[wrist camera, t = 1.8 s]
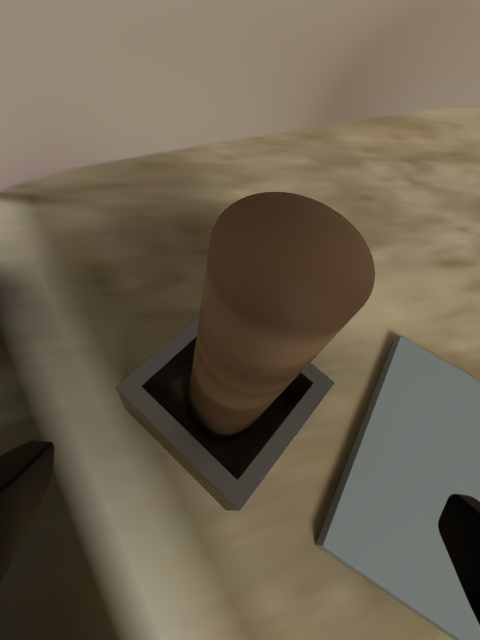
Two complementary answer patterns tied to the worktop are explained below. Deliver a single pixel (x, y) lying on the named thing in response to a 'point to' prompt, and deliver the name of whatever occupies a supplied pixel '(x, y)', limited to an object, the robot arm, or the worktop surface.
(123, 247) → the worktop surface
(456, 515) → the robot arm
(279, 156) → the worktop surface
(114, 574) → the worktop surface
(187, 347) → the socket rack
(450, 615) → the board
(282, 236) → the dowel
